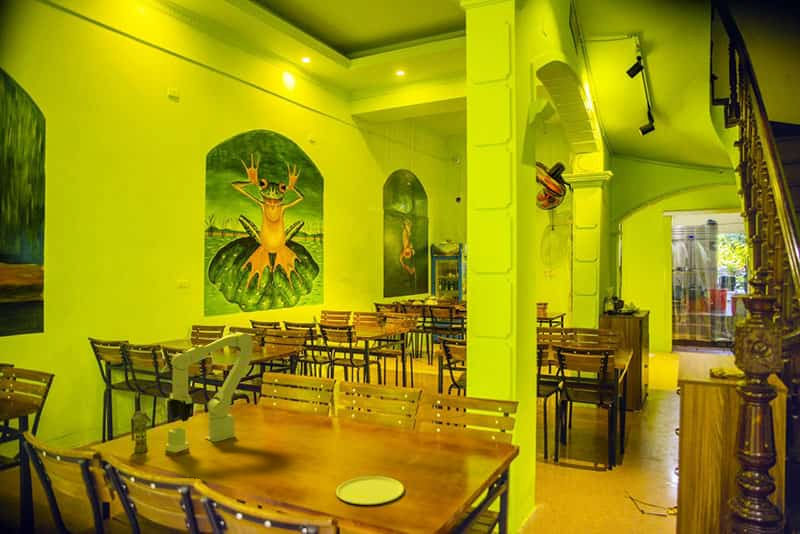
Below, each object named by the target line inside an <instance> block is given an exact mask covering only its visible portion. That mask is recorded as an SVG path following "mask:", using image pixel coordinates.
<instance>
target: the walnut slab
mask: <svg viewBox="0 0 800 534" xmlns="http://www.w3.org/2000/svg"><path fill="white" fill-rule="evenodd" d="M164 452H165V455H169V456H173V457H178V456H181V455H185V454H187V453H189V452H190V448H187V449H184V450H182V451H179V452H172V451H168V450H166V449H165V451H164Z"/></svg>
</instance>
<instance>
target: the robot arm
mask: <svg viewBox="0 0 800 534" xmlns="http://www.w3.org/2000/svg"><path fill="white" fill-rule="evenodd" d="M193 346H194V347H191V348H190V349H187V350H182V353H180V352H179V353H176V354H174V355H173V356H172V357H171V360H170V364H171V366H172V392H171V393H169V399H168V400H166V402H167V404H168V406H169V408H170V411H171V416H172V418H173V419H176V418H180V417H181V418H180V419H181V421H182V422H188V421H189V417H190V414H191V410H192V408H193V407H194V405H195V403H194V401H193V399H192V397H191V396H190V395H189V367H190V366H191V365H193V364H196V363H197V362H199V361H202V360H204V359H206V358H207V357H208V355H209V354H210V353H213V352H216V351H218V350H220V349H223V348H225V347H234V349H235V350H236V353H237V358H236V361H235V363H234V364H233V366H232V368H231V370H230V371H229V374H228V375H227V377H226V379H225V380H224V382H223V384H222V386H221V388H220V390H219V391H218V392H217V393H215V394H214V396H213V397H212V398H211V399H210V400H209V401H208V402H207V405H206V406H207V407H206V408H207V411H208V412H209V415H208V429H209V430H208V431H209V435H208V436H205V438H204V439H205V440H208V441H211V442H213V443H217V442H220V441H224V440H228V439H231V438H235V437H236V434H235V432H236V431H235V418H234V416H233V415H232V414H231V413H230V405H231V404H232V397H233V395H234V392H235V391H236V388H237V386H238V385H239V383H240V381H241V379H242V378H243V376H244V374H245V372H246V370H247V368H248V366H249V365H250V362H251V361H252V359H253V349H254V348H253V346H254V340H253V338H252V336H251V335H250V334H249V333H245V332H242V331H235V332H233V333H229V334H227V335H225V336H223V337H221V338H218V339H217V340H215V341H212V342H211V343H209V344H206V345H203V344H195V345H193Z"/></svg>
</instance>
